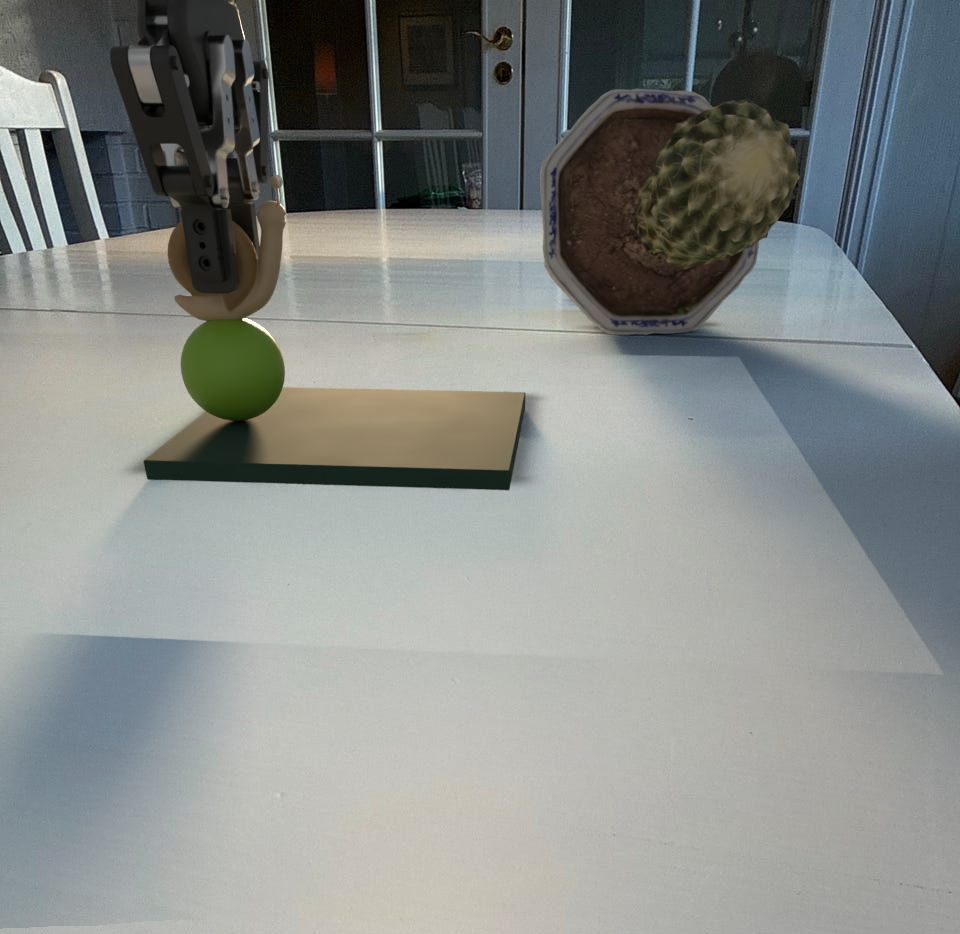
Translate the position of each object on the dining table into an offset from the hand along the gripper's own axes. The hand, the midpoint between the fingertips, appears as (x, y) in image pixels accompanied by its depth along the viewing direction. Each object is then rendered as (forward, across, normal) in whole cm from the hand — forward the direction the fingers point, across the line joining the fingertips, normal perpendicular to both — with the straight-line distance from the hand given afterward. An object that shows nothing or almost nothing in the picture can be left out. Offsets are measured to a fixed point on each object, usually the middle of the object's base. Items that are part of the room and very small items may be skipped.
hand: (229, 283), depth 46 cm
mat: (+8, 0, +6) cm, 10 cm away
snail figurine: (+7, 0, 0) cm, 7 cm away
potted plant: (+8, -29, +24) cm, 39 cm away
